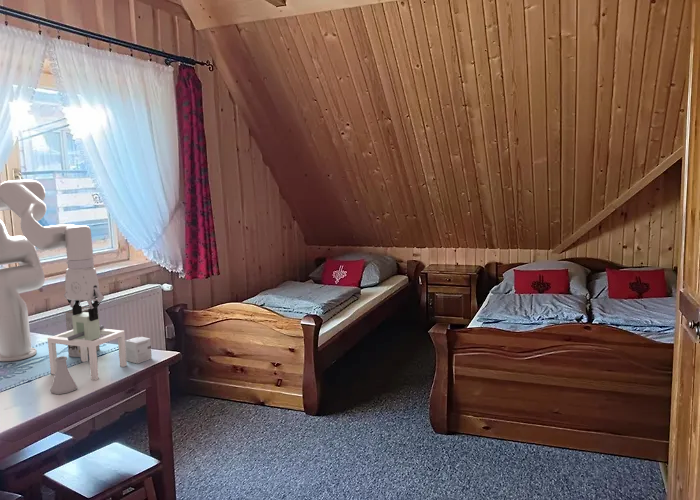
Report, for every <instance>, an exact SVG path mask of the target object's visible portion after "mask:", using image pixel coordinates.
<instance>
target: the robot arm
mask: <svg viewBox="0 0 700 500" xmlns="http://www.w3.org/2000/svg"><path fill="white" fill-rule="evenodd" d="M45 198H46V191H45V187H44V186H43V184H42V183H41V182H39V181H38V180H34V179H13V180H11V179H9V180H7V181H3V182H1V183H0V211H1V212H3V211H12V212H13V213H14V214H16V215H17V217H18V218H20V223H19V224H20V229H21V232H22V235H14V236H11V235H9V234H8V230H7V228H6V225H5V223H4V222H3V221H2V220H1V219H0V266H4V265H10V264H11V265H14V264H17V263H18V265H17V266H15V265H14V266H10V267H4V268H1V269H0V362H15V361H21V360H25V359H28V358H31V357H34V356H35V355H36V354H37V352H38V351H37V348H35V347H32V342H31V331H30V330H31V329H30V323H29V322H30V321H29V311H28V305H27V303H26V301H25V300H24V299H23V298H22V296H21V295H20V294H23V293H26V292H27V293H28V292H32V291H36V290H39V289H41V288H42V287H43V286H44V284H45V278H46V277H45V272H44V269H43V266H42V263H41V259H40V257H39V254H38V250H41V251H51V250H56V249H65V250H66V251H65V252H66V259H67V260H66V265H67V269H66V270H65V279H64V281H65V282H64V284H65V285H64V286H65V288H64V289H65V293H64V294H63V297H64V298H65V300H66V301H67V302H68V304H69V307H70V308H71V310H72V311H73V315H77V314H80V313H82V307H83V306H82V305H81V302H82V301H83V302H87V304H88V307H90V309H89V310H88V311H89V320H90V321H94V320H97V319H98V313H99V309H98V308H99V307H100V305H101V304H102V302H103V300H104V299H105V295H103V293H102V292H101V290H100V283H99V277H98V274H97V269H96V268H95V261H94V253H93V251H94V250H93V241H92V230H91V228H90V226H88V225H76V224H71V223H67V224H66V223H65V224H56V225H46V226H43V225H41V224H40V223H39V221H41V220H42V219H43V218H44V216H45V215H46V213H47V205H46V203H45V202H44V200H46V199H45ZM37 249H38V250H37ZM92 301H93V302H92Z"/></svg>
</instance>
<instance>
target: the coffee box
mask: <svg viewBox="0 0 700 500" xmlns="http://www.w3.org/2000/svg"><path fill="white" fill-rule="evenodd" d="M81 307H82V313H83V312H89V311H88V310H89V309H90V307H89V306H81ZM64 313H65V314H64V315H65V323H66V325H65V326H66V332H67V331H70V330H73V321H72V316H73V311H72V309H71V310H68V311H66V312H64ZM67 338H68V337H67ZM99 338H100V337H99ZM99 338H97V339H99ZM97 339H94V340H97ZM94 340H91V341H94ZM67 347H68V348H67V352H68V357H73V358H81V351H80V346H73V345H67ZM99 350H101V349H100V345H98V346H96V352H98V351H99ZM87 352H88V356H89V348H88V347H87Z"/></svg>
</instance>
